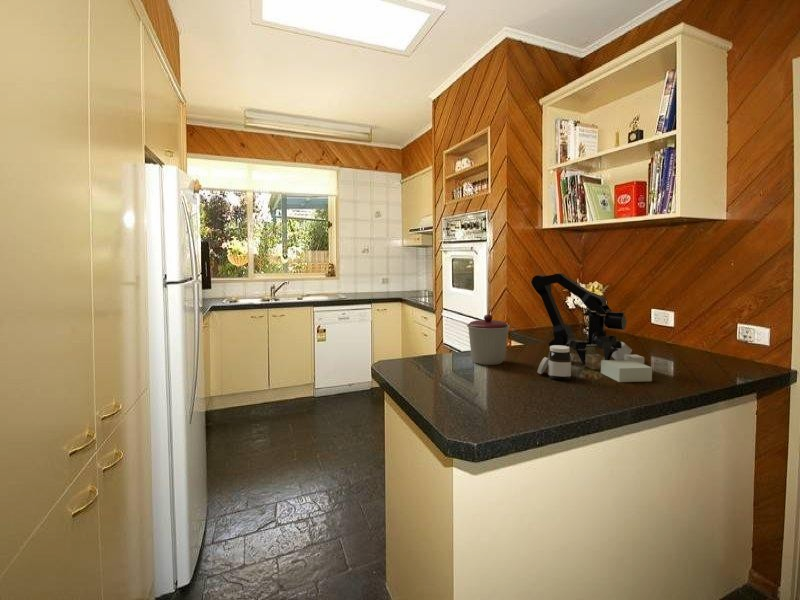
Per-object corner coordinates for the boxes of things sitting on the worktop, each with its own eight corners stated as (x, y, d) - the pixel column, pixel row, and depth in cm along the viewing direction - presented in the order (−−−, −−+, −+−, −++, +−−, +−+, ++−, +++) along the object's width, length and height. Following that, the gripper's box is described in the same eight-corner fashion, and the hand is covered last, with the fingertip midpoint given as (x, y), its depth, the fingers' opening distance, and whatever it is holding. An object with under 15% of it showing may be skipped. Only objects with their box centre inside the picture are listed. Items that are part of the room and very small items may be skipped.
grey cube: (631, 369, 158) (632, 357, 157) (624, 366, 163) (624, 354, 162) (643, 369, 158) (644, 357, 158) (635, 366, 163) (636, 354, 163)
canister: (458, 362, 173) (458, 314, 171) (483, 355, 185) (483, 310, 183) (493, 370, 159) (493, 318, 157) (517, 362, 171) (518, 314, 169)
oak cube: (592, 369, 159) (592, 357, 159) (585, 366, 164) (586, 354, 164) (604, 369, 159) (604, 357, 159) (597, 366, 164) (597, 354, 164)
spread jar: (572, 382, 143) (573, 350, 142) (540, 380, 145) (540, 349, 144) (566, 372, 155) (566, 343, 154) (535, 371, 157) (536, 342, 156)
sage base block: (619, 382, 142) (619, 368, 141) (600, 372, 154) (601, 360, 153) (651, 381, 142) (652, 367, 142) (630, 372, 154) (631, 359, 154)
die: (632, 364, 168) (638, 345, 171) (614, 355, 167) (620, 335, 171) (618, 367, 175) (624, 348, 179) (602, 357, 175) (608, 338, 178)
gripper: (583, 331, 152) (582, 370, 153) (631, 330, 153) (629, 369, 154) (569, 326, 163) (569, 363, 164) (614, 325, 164) (612, 362, 165)
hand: (594, 365), depth 162 cm, fingers open, 9 cm apart
